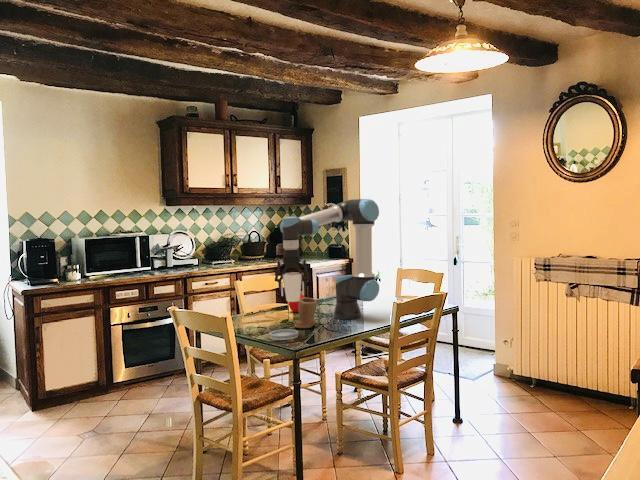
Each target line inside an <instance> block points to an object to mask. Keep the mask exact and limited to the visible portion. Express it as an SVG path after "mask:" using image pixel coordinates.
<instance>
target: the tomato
mask: <svg viewBox="0 0 640 480" xmlns="http://www.w3.org/2000/svg"><path fill="white" fill-rule="evenodd" d="M301 298H306V297H305V295H303V294H301V293H300V299H301ZM298 304H299V301H296V302H288V307H289V309H290V310H291V312H293V313H299V312H298Z"/></svg>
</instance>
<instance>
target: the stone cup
mask: <svg viewBox="0 0 640 480" xmlns="http://www.w3.org/2000/svg"><path fill="white" fill-rule="evenodd" d="M317 304H318V302H317V300H316V299H315V298H312V297H305V298H301V299H300V301H299V304H298V312H297V313H298V314H299V315H298V316H299V320H298V321H296V322H295V323H294V325H293V327H295V328H297V329H310V328H312V327H313V326H314V325H316V323H317V320H316V319H314V317H315V314H316V311H317V309H318V308H317V306H318V305H317Z"/></svg>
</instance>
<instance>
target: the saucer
mask: <svg viewBox="0 0 640 480" xmlns="http://www.w3.org/2000/svg"><path fill="white" fill-rule="evenodd" d="M268 337H269V339H270V340H272V341H273V340H274V341H287V340H288V341H289V340H290V341H291V340H293V339H294V340H295V339H296V338H298V337H299V330H296V329H292V328H291V329H290V328H287V329H286V328H284V329H283V328H282V329H276V330H272V331H269V333H268Z"/></svg>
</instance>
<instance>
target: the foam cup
mask: <svg viewBox="0 0 640 480" xmlns="http://www.w3.org/2000/svg"><path fill="white" fill-rule="evenodd" d="M302 281H303V279H302V274H299V272H285V274H283V278H282V282H283V290H284V294H285V300H286V302H288V303H289V302H296V301H300V294H301V291H302V290H301V289H302Z"/></svg>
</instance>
